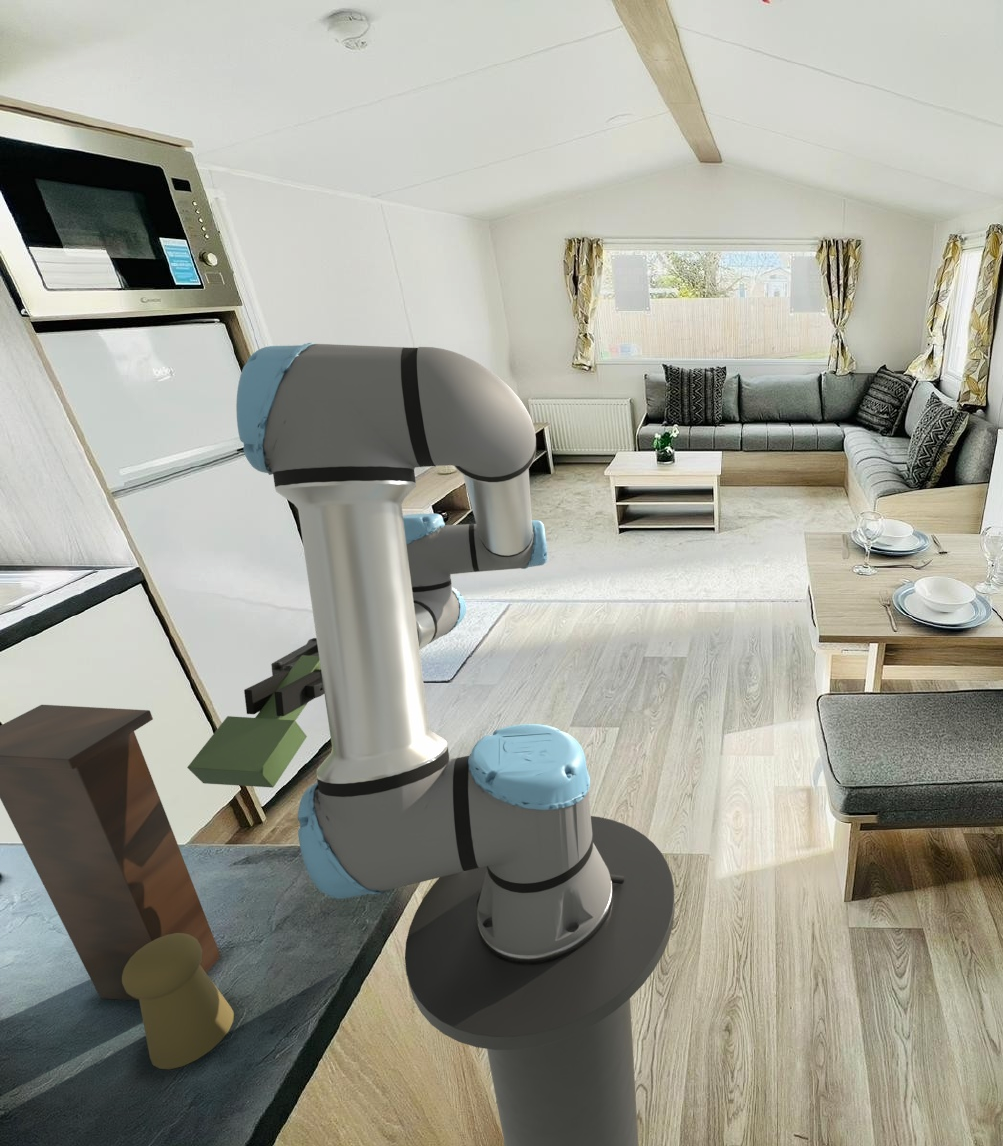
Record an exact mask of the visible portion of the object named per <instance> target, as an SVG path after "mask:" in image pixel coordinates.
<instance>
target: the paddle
mask: <svg viewBox="0 0 1003 1146" xmlns="http://www.w3.org/2000/svg"><path fill="white" fill-rule="evenodd" d="M317 669H319V670H321V666H320V659H319V656H305V655H302V656H301V657H300V658H299V660H298V661H297V662H296V664H295V665H294V666H293V668H292V669H291V670H290V672H289V673H288V674H287V676H286V677H285V678H284V680H283V681H282V682H281V684H280V685H279V686H278V688H277V689H276V690H275V691H277V690H279V689H280V688H282V687H284V686H286V685H288V684H290V683H292V682H294V681H296V680H298V679H300V678H302V677H304V676H305V675H307V674H309V673H311V672H313V671H315V670H317ZM307 705H308V703H306V704H304V705H302V706H301V707H299V708H297V709H296V710H294V711H292V712H290V713H289V714H287V715H285V716H277V713H276V703H275V693H273V694H272V696H271V697H270V698H269V700H268V701H267V702H266V704H265V705H264V706H263V708H262V709H261V710H260V711H259V712H258V713H257V715H255V717H249V716H248V717H247V716H246V717H245V716H234V715H233V716H232V715H231V716H230V715H227V716H226V717H225V719H224V720H223V721H222V723H221V724H220V725H219V727H217V729H216V730H215V731H214V733H213V734H212V735H211V737H210V738H209V739H208V740H207V742H206V743H205V744H204V745H203V747H202V748H201V749H200V750H199V752H198V753H197V754H196V756H195V757H194V758H193V759H192V761H191V762H190V763H189V764H188V766H187V769H188V770H189V771H190V772H191V773H192V774H193V775H194V776H195V777H196V778H197V779H198V780H199V781H200V782H201V783H202V784H208V785H221V786H223V785H224V786H240V787H254V788H255V787H258V788H272V789H273V788H275V786H276V784H277V783H278V781H279V780H280V778H281V777H282V776H283V774H284V772H285V771H286V769H287V767H288V766H289V765H290V763H291V762H292V760H293V759H294V757H295V756H296V754H297V752H298V751H299V749H300V748H301V747H302V745H303V744H304V742H305V741H306V739H307V737H308V736H307V734H306V733H305V732H304V730H303V729H302V728H301V726H300V725H299V723H298V722H297V721H296V720H297V719H298V718H299V716H300V715H301V713H302V712H303V710H304V709H305V707H306V706H307Z"/></svg>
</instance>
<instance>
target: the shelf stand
mask: <svg viewBox="0 0 1003 1146" xmlns="http://www.w3.org/2000/svg"><path fill="white" fill-rule="evenodd" d="M153 720H154V718H153V715H152V711H150V710H149V709H131V708H115V707H114V708H111V707H96V706H95V707H94V706H93V707H92V706H91V707H90V706H76V705H58V704H57V705H55V704H40V705H37V706H36V707H34V708H32V709H30V710H28V711H26V712H24V713H22V714H21V715H18V716H16V717H14V718H13V719H10V720H9V721H6V722H5V723H2V724H1V725H0V801H1V803H2V805H3V807H4V809H5V811H6V813H7V815H8V817H9V819H10V821H11V823H12V825H13V827H14V828H15V831H16V833H17V835H18V837H19V839H20V841H21V843H22V845H23V847H24V849H25V851H26V853H27V855H28V857H29V859H30V862H31V864H32V865H33V867H34V869H35V871H36V873H37V875H38V877H39V879H40V881H41V883H42V885H43V886H44V889H45V891H46V893H47V895H48V898H49V899H50V901H51V904H52V905H53V907H54V908H55V911H56V913H57V915H58V916H59V918H60V921H61V923H62V925H63V927H64V928H65V931H66V933H67V935H68V937H69V939H70V941H71V944H72V945H73V947H74V948H75V951H76V953H77V955H78V956H79V958H80V961H81V963H82V965H83V967H84V969H85V971H86V972H87V974H88V977H89V979H90V980H91V982H92V985H93V986H94V988H95V990H96V991H95V992H97V994H98V997H99V998H100V999H107V1000H120V1001H121V1000H122V1001H123V1000H124V1001H136V1002H137V1001H138V1002H139V999H136V998H134V997H132V996H131V995H129V994H128V993H127V992H126V990H125V988H124V986H123V984H122V974H123V970H124V968H125V966H126V964H127V962H128V961H129V959H130V958H131V957H132V956H133V955H134V954H135V953H136V952H137V951H138V950H139V949H141V948H142V947H143V946H145V945H146V944H148V943H150V942H152V941H153V940H155V939H157V938H160V937H163V936H165V935H169V934H174V933H185V934H189V935H191V936H193V937H195V938H196V939H197V940H198V942H199V944H200V945H201V948H202V959H201V963H200V966H201V967H202V968H203V970H204V971H205V972H206V974H207V973H208V972H209V971H210V970H211V969H212V967H214V965H215V964H216V963H217V962H218V961H219V960H220V959H221V957H222V955H221V953H220V949H219V947H218V945H217V943H216V940H215V937H214V934H213V931H212V929H211V926H210V924H209V922H208V919H207V917H206V913H205V911H204V908H203V906H202V904H201V901H200V898H199V896H198V893H197V890H196V888H195V885H194V883H193V880H192V877H191V875H190V872H189V869H188V867H187V864H186V861H185V859H184V857H183V855H182V851H181V849H180V847H179V844H178V842H177V839H176V836H175V834H174V830H173V829H172V825H171V823H170V820H169V818H168V816H167V813H166V810H165V807H164V805H163V802H162V800H161V797H160V794H159V792H158V789H157V787H156V785H155V782H154V779H153V776H152V774H151V772H150V769H149V767H148V764H147V761H146V759H145V756H144V753H143V751H142V749H141V745H140V743H139V741H138V738H137V735H136V733H135V731H137V730H139V729H140V728H142V727H143V726H145V725H146V724H148V723H150V722H151V721H153Z"/></svg>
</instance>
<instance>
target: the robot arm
mask: <svg viewBox="0 0 1003 1146" xmlns="http://www.w3.org/2000/svg"><path fill="white" fill-rule="evenodd" d="M235 406H236V408H235V409H236V411H235V412H236V425H237V432H238V436H239V441H240V442H241V443H243V453H244V456H245V458H246V460H247V461H248V463H249V464H250V466H251V467H252V468H253V469H254V470H256V471H257V472H260V473H264V474H268V475H269V476H272V477H273V483H274V489H275V492H276V493H278V494H279V495H280V496H282V497H283V498H284V499H286V500H288V501H289V502H290V503H291V504H293V505H294V507H295V508H296V509H297V511H298V517H299V518H298V519H299V524H300V532H301V539H302V546H303V553H304V560H305V567H306V573H307V574H306V575H307V581H308V587H309V588H308V589H309V595H310V602H311V603H310V604H311V608H312V616H313V624H314V630H315V636H316V637H313V638H310V639H308V640H307V642H306V644H304V645H302V646H301V647H299V648H297V649H295V650H293V651H291V652H290V653H288V654H286V655H284V656H283V657H281V658H279V659H277V660H276V661H274V662H272V663H271V664H270V666H271V676H270V677H267V678H265V679H262V681H259V682H257V683H255V684H253V685H251V686H248V687H246V688H245V689H243V693H244V700H245V701H244V702H245V709H246V710H245V711H246V715H255V714H258V713H259V712H260V710H261V709H262V708H263V706H264V705H265V704H266V702H267V701H268V700H269V698H270V697H271V696H272V694H273V693H275V703H276V713H277V716H285V715H287V714H289V713H290V712H292V711H294V710H296V709H297V708H299V707H301V706H302V705H304V704H306V703H307V704H308V703H309V702H311V701H313V700H314V699H317V698H320V697H322V696H323V695H324V700H325V701H324V702H325V708H326V715H327V722H328V729H329V735H330V742H331V743H330V744H331V751H330V753H329V755H327V757H326V758H325V759H324V760H323V761H322V763H321V764H320V765H319V766H318V768H317V769H316V780H317V781H316V782H314V783H313V784H311V785H310V786H309V787H307V789H305V791H304V792H303V794H302V796H301V798H300V800H299V806H298V811H297V812H298V813H297V820H298V822H299V828H298V830H297V835H298V843H299V848H300V853H301V857H302V861H303V863H304V866H305V869H306V871H307V874H308V876H309V878H310V880H311V881H312V883H313V884H314V886H315V887H316V888H317V889H318V890H319V891H320V892H321V893H322V894H324V895H326V896H328V897H330V898H331V899H336V900H342V899H343V900H344V899H350V898H355V897H360V896H366V895H373V896H374V895H375V896H376V895H381V894H384V893H386V892H387V891H391V890H395V889H398V888H403V887H406V886H411V885H414V884H419V883H422V882H428V881H432V880H435V879H439V878H440V877H444V876H448V875H452V874H456V873H460V872H464V871H468V870H472V869H476V868H481V867H485V866H487V872H486V876H485V880H484V883H483V886H482V889H481V891H480V894H479V896H478V899H477V901H476V908H477V905H478V911H477V922H478V928H479V934H480V937H481V940H482V942H483V944H484V945H485V947H486V948H487V949H488V950H489V951H490V952H491V953H492V954H493V955H495V956H496V957H498V958H500V959H502V960H504V961H507V962H510V963H514V964H522V965H533V964H541V963H546V962H550V961H554V960H557V959H559V958H562V957H564V956H566V955H568V954H570V953H572V952H574V951H576V950H577V949H579V948H580V947H582V946H583V945H584V944H586V943H587V942H588V941H589V940H590V939H591V938H592V937H593V936H594V935H595V934H596V933H597V932H598V931H599V929H600V928H601V927H602V925H603V924H604V922H605V920H606V919H607V917H608V914H609V912H610V909H611V905H612V883H617V884H623V883H624V876H619V875H611V874H609V871H608V868H607V866H606V864H605V863H604V861H603V859H602V857H601V856H600V854H599V852H598V850H597V848H596V847H595V845H594V843H593V836H592V825H591V816H592V814H591V804H590V794H589V793H590V792H589V790H590V788H591V776H590V773H589V771H588V767H587V761H586V760H587V759H586V755H585V751H584V750H583V747H582V745H581V744H580V742H579V741H578V740H577V739H576V738H575V737H574V736H572V735H571V734H569V733H568V732H566V731H562V730H560V729H559V728H557V727H554V726H551V725H546V724H540V723H521V724H520V723H519V724H512V725H508V726H504V727H501V728H499V729H498V728H497V729H496V730H494V731H493V733H492V734H486V735H484V736H483V737H481V738H480V739H479V740H478V741H477V742H476V743H475V744H474V746H473V748H472V749H471V752H470V754H469V755H465V756H460V757H454V758H451V757H450V752H449V744H448V741H447V740H446V739H445V738H444V737H441V736H440V735H438V734H437V733H435V732H434V731H432V730H431V729H430V724H429V723H430V722H429V716H428V714H429V713H428V707H427V706H428V705H427V699H426V691H425V684H424V676H423V666H422V657H421V650H422V649H423V648H426V646H428V645H430V644H431V643H433V642H434V641H436V640H438V639H440V638H441V637H444V636H446V635H447V634H450V633H451V631H453V630H454V629H455V628H456V627H458V626H459V624H461V623H462V621H463V620H464V618H465V616H466V613H467V604H466V601H465V598H464V597H463V595H462V594H461V593H460V591H458V589H456V588H455V587H453V586H452V579H451V578H452V577H451V575H457V574H469V573H479V572H493V571H506V570H518V569H519V570H520V569H522V570H525V569H528V568H533V567H540V566H544V565H545V564H547V562H548V546H547V538H546V529H545V524H544V523H543V522H542V521H541V520H537V519H533V515H532V499H531V486H530V484H531V483H530V470H529V469H530V467H531V466H532V464H533V462H534V460H535V458H536V454H537V437H536V430H535V426H534V422H533V420H532V417H531V415H530V413H529V411H528V410H527V408H526V406H525V405H524V403H523V401H522V399H520V398H519V396H518V395H517V394H516V393H515V391H514V390H513V389H512V388H511V387H510V386H509V385H508V384H507V383H506V382H505V381H503V379H501V378H500V377H499V376H498V375H497V374H496V373H494V372H493V371H492V370H491V369H489V368H487V367H485V366H484V365H483V364H481V363H479V362H477V361H476V360H474V359H472V358H470V357H467V356H466V355H464V354H461V353H459V352H455V351H452V350H448V349H445V348H441V347H433V346H418V347H406V346H405V347H404V346H379V345H353V344H331V343H329V344H328V343H327V344H326V343H312V342H307V343H303V344H301V345H298V344H297V345H295V344H294V345H269V346H265V347H262V348H259V349H258V350H255V352H253V353H252V354H251V355H250V356H249V358H248V359H247V361H246V363H245V365H244V366H243V367H242V370H241V373H240V377H239V380H238V385H237V391H236V405H235ZM438 466H439V467H440V466H442V467H443V466H444V467H445V466H446V467H447V466H451V467H452V466H453V467H454V468H455V469H456V470H457V471H458V472H459V473H461V474H462V476H463V480H464V483H465V487H466V491H467V494H468V499H469V503H470V506H471V510H472V514H473V517H474V521H475V523H467V524H466V523H465V524H446V523H445V521H444V518H443V516H442V515H441V514H439V513H431V512H430V513H411V514H403V506H402V504H403V502H404V500H405V499H406V498H407V497H408V496H409V495H410V494H411V492H412V491H413V490H414V489H415V488H416V487H417V481H416V473H415V469H416V468H425V467H426V468H429V467H430V468H431V467H438ZM302 655H305V656H319V659H320V666H321V670H319V669H317V670H315V671H313V672H311V673H309V674H307V675H305V676H304V677H302V678H300V679H298V680H296V681H294V682H292V683H290V684H288V685H286V686H284V687H282V688H280V689H279V690H277V691H275V690H276V689H277V688H278V686H279V685H280V684H281V682H282V681H283V680H284V678H285V677H286V676H287V674H288V673H289V672H290V670H291V669H292V668H293V666H294V665H295V664H296V662H297V661H298V660H299V658H300V657H301V656H302ZM307 704H306V705H307Z"/></svg>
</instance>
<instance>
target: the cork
mask: <svg viewBox="0 0 1003 1146" xmlns="http://www.w3.org/2000/svg"><path fill="white" fill-rule="evenodd" d="M201 959H202V948H201V945H200V944H199V942H198V940H197V939H196V938H195V937H193V936H191V935H189V934H185V933H174V934H169V935H165V936H163V937H160V938H157V939H155V940H153V941H152V942H150V943H148V944H146V945H145V946H143V947H142V948H141V949H139V950H138V951H137V952H136V953H135V954H134V955H133V956H132V957H131V958H130V959H129V961H128V962H127V964H126V966H125V968H124V970H123V974H122V984H123V986H124V988H125V990H126V992H127V993H128V994H129V995H131V996H132V997H134V998H136V999H139V1001H138V1002H139V1006H140V1011H141V1016H142V1017H141V1018H142V1023H143V1028H144V1033H145V1038H146V1044H147V1049H148V1054H149V1059H150V1062H151V1064H152V1065H153V1066H154V1067H155V1068H158V1069H160V1070H172V1069H178V1068H181V1067H184V1066H186V1065H188V1064H190V1063H193V1062H195V1061H197V1060H199V1059H200V1058H201V1057H204V1056H205V1055H207V1054H208V1053H209V1052H211V1051H212V1050H213V1049H214V1048H215V1047H216V1046H217V1045H218V1044H220V1042H222V1041H223V1039H224V1038H225V1037H226V1035H227V1034H228V1033H229V1031H230V1029H231V1027H232V1025H233V1023H234V1018H235V1017H234V1016H235V1012H234V1010H233V1009H232V1006H231V1004H229V1003H228V1001H227V1000H226V998H225V997H224V995H223V994H222V993H221V992H220V990H219V989H218V987H217V985H215V983H214V982H213V981H212V979H211V977H210V976H209V975H208V974H207V973H206V972H205V971H204V970H203V968H202V967H201V966H200V963H201Z"/></svg>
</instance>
